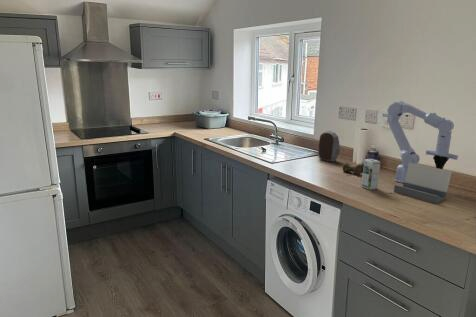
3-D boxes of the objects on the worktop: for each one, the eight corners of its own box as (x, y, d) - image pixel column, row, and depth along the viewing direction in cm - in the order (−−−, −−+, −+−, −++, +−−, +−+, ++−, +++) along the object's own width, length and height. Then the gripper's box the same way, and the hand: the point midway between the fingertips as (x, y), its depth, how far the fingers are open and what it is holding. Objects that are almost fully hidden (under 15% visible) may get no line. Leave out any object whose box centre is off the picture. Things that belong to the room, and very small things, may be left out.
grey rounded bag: (315, 159, 243) (317, 129, 238) (322, 157, 248) (325, 128, 244) (334, 163, 232) (336, 132, 227) (341, 161, 237) (344, 131, 233)
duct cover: (408, 162, 182) (409, 162, 183) (404, 181, 184) (405, 181, 184) (451, 171, 167) (452, 171, 168) (446, 192, 169) (447, 192, 169)
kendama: (372, 172, 215) (351, 176, 203) (358, 169, 222) (337, 173, 210) (373, 162, 214) (352, 166, 202) (359, 159, 221) (338, 163, 209)
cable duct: (393, 191, 178) (394, 185, 178) (403, 188, 184) (404, 181, 184) (436, 203, 163) (437, 196, 162) (445, 199, 169) (446, 192, 169)
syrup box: (360, 186, 186) (363, 159, 182) (369, 185, 188) (372, 158, 184) (368, 190, 180) (371, 161, 177) (377, 188, 183) (381, 160, 179)
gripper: (462, 146, 177) (457, 172, 180) (431, 141, 188) (427, 166, 191) (456, 147, 173) (451, 174, 176) (425, 142, 184) (421, 168, 187)
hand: (438, 170), depth 183 cm, fingers closed
